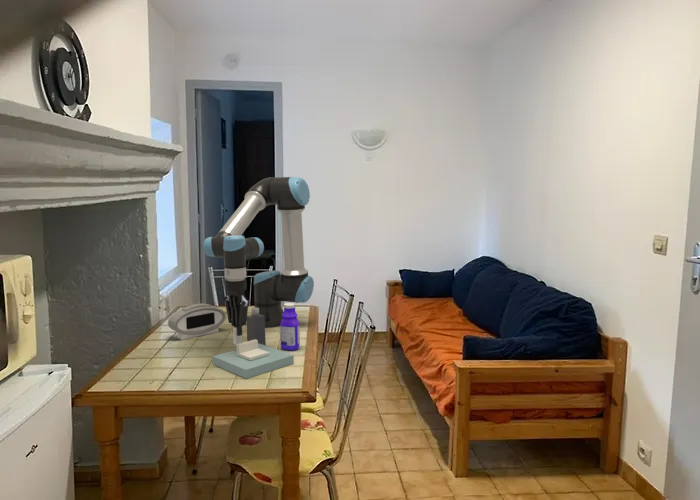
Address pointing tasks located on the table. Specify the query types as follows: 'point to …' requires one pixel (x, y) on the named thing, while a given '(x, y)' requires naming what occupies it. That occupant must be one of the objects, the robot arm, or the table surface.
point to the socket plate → (253, 362)
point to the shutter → (250, 350)
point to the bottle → (289, 328)
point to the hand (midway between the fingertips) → (237, 343)
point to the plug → (256, 327)
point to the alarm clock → (196, 320)
